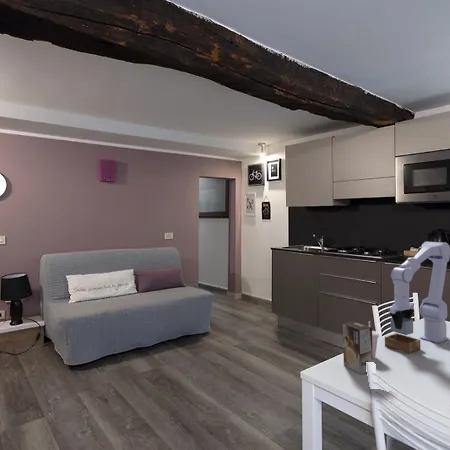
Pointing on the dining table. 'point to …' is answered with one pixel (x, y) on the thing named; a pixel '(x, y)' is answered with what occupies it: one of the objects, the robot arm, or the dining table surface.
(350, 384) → the dining table surface
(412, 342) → the walnut crate
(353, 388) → the dining table surface
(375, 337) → the smoothie
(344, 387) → the dining table surface
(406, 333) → the slate crate
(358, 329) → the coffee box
